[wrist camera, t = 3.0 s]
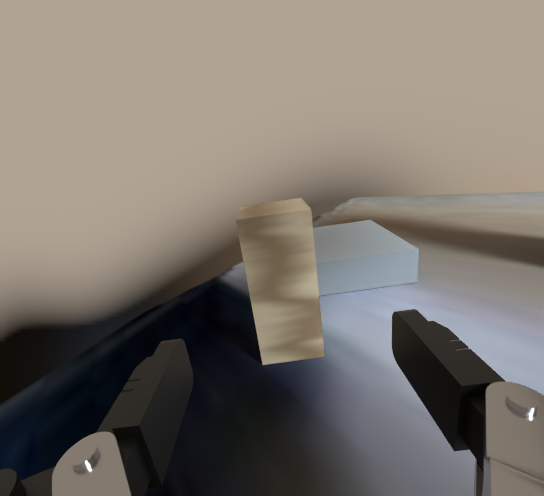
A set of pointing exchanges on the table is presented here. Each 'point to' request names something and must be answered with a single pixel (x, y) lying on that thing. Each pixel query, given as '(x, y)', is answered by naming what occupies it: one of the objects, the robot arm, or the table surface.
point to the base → (362, 258)
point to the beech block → (282, 279)
